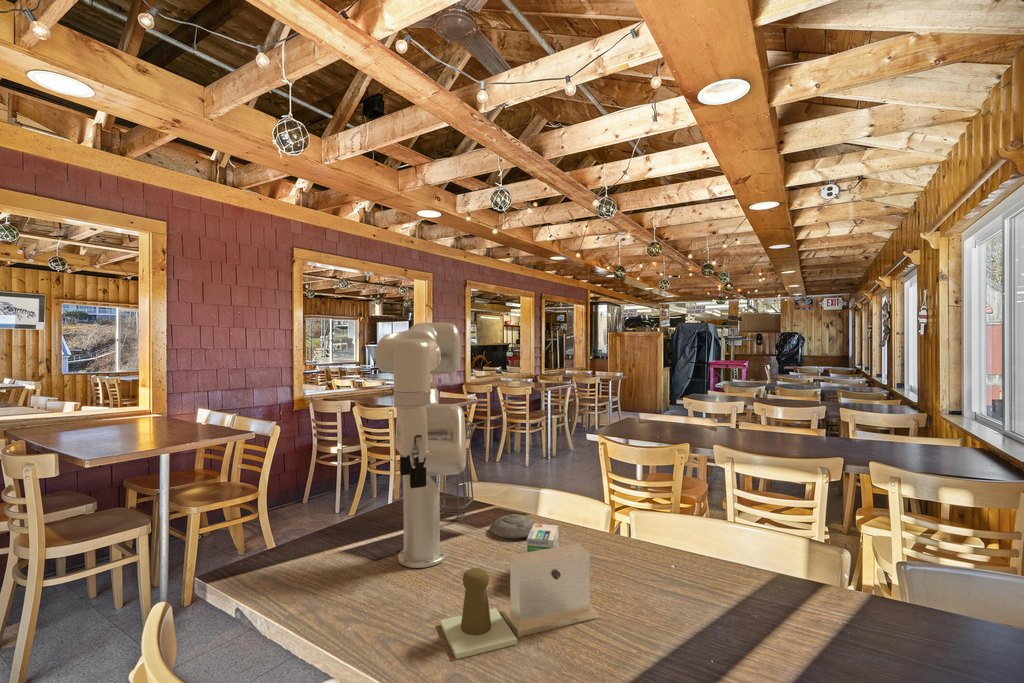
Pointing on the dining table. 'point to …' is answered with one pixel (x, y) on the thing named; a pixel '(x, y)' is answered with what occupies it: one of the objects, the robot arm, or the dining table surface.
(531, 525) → the flying saucer
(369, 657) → the dining table surface
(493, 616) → the mat
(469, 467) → the geometric lantern
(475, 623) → the brown pawn
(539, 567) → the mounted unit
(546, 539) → the light bulb box
